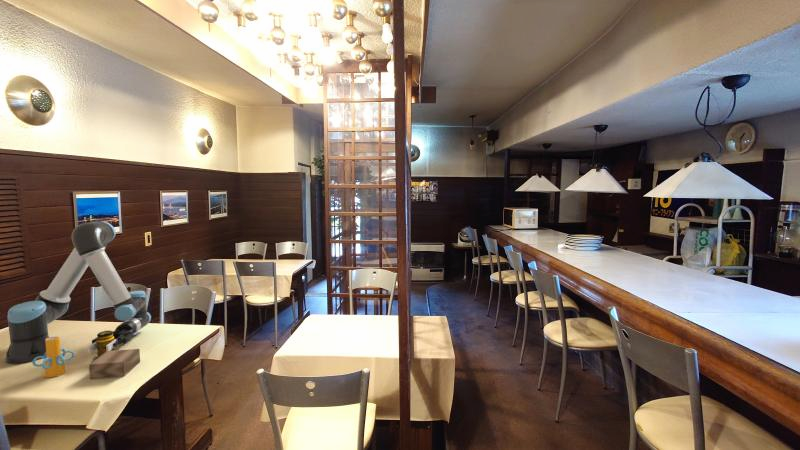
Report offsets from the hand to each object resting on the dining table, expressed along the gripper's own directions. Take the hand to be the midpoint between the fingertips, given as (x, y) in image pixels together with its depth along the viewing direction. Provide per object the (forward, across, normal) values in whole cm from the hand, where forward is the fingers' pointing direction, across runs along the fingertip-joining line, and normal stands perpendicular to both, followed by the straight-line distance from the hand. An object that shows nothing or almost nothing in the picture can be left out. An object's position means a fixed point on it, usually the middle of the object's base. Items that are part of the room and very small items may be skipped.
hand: (98, 349), depth 149 cm
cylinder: (+6, +12, -7) cm, 15 cm away
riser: (+7, -10, -7) cm, 14 cm away
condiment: (-5, +1, -7) cm, 8 cm away
